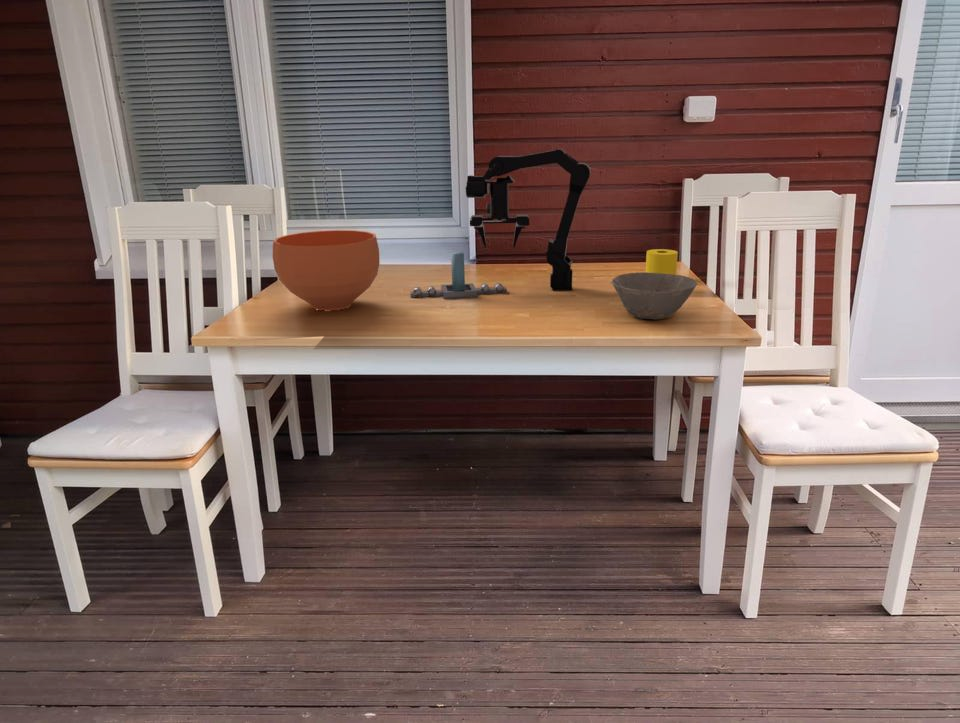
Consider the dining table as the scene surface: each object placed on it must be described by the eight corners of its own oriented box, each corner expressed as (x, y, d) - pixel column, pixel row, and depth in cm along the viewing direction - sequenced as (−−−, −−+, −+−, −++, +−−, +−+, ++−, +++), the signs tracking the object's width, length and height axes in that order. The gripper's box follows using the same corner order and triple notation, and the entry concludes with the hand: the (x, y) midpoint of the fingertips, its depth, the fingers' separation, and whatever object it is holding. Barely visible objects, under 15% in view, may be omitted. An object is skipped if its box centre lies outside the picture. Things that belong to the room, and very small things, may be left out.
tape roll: (668, 284, 214) (670, 255, 211) (640, 280, 220) (641, 252, 217) (680, 278, 222) (682, 250, 219) (652, 275, 228) (654, 248, 224)
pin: (467, 293, 208) (466, 252, 204) (461, 296, 205) (459, 254, 200) (456, 292, 210) (455, 251, 205) (450, 294, 206) (448, 253, 202)
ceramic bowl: (690, 307, 187) (693, 272, 184) (696, 330, 166) (700, 292, 163) (611, 304, 192) (613, 270, 189) (608, 326, 171) (610, 289, 168)
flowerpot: (384, 316, 184) (378, 243, 177) (274, 323, 180) (264, 248, 173) (381, 291, 212) (376, 228, 205) (286, 297, 208) (278, 232, 201)
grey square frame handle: (503, 287, 214) (503, 280, 213) (509, 295, 204) (508, 287, 203) (410, 292, 210) (409, 284, 209) (411, 300, 201) (410, 292, 200)
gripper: (528, 194, 213) (528, 243, 218) (471, 195, 213) (472, 243, 219) (529, 198, 202) (529, 249, 207) (469, 199, 203) (470, 249, 208)
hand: (499, 247), depth 211 cm, fingers open, 9 cm apart
